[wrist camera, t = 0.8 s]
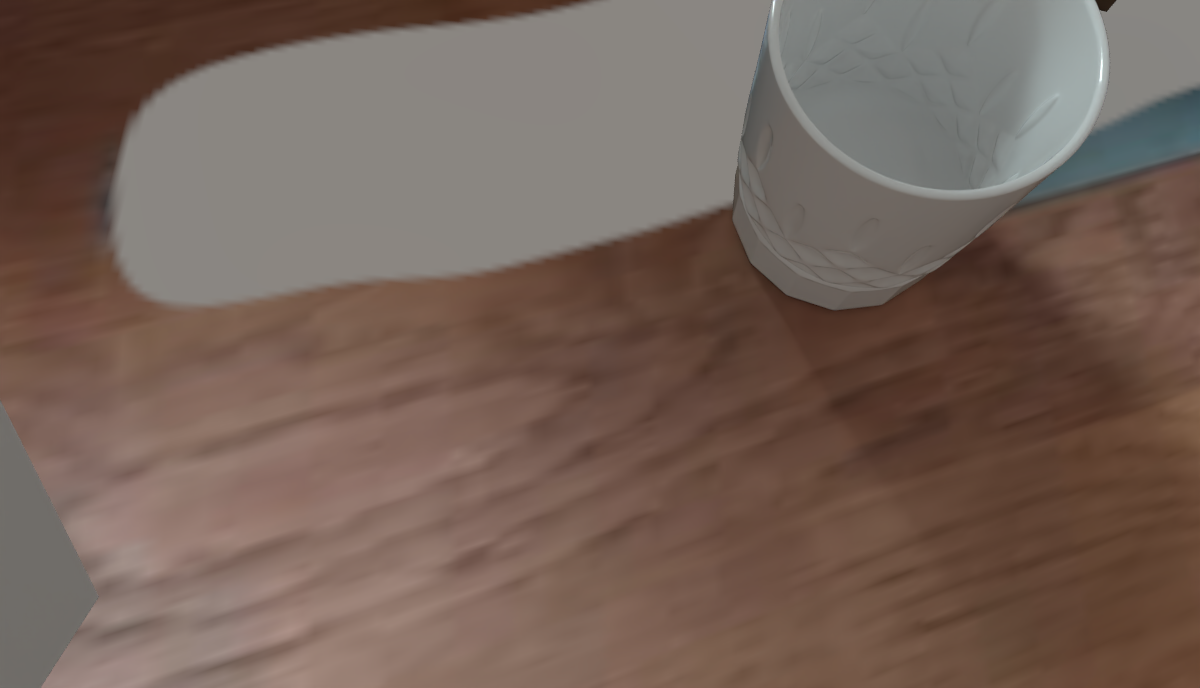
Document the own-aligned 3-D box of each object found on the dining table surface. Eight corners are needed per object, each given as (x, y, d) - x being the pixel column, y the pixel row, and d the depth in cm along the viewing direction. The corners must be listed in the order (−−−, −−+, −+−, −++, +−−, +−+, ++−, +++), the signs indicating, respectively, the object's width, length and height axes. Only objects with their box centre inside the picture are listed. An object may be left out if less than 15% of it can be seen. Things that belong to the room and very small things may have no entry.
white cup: (959, 342, 34) (1117, 216, 24) (703, 316, 34) (759, 179, 24) (960, 111, 36) (1105, -89, 26) (720, 87, 36) (777, -122, 26)
